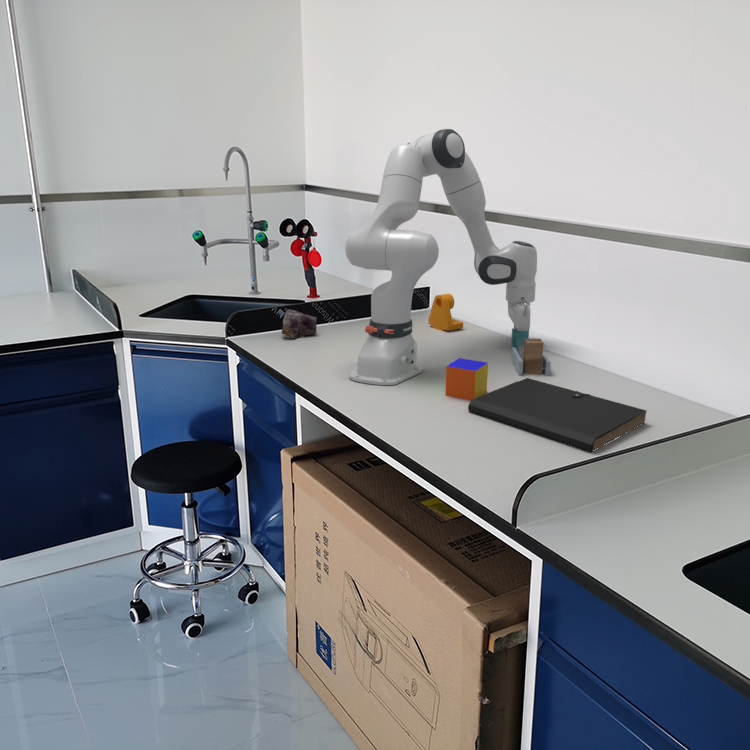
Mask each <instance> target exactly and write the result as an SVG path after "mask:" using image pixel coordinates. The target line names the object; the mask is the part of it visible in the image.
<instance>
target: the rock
mask: <svg viewBox="0 0 750 750" xmlns="http://www.w3.org/2000/svg"><path fill="white" fill-rule="evenodd" d="M281 329H282V330H281V335H284V336H287V337H289V338H291V339H296V338H299V337H305V336H313V335H316V334H317V316H313V315H309V314H306V313H302V312H300V311H297V310H294V309H287V310H286V311H285V312H284V315H283V319H282V328H281Z"/></svg>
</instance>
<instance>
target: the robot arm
mask: <svg viewBox="0 0 750 750" xmlns="http://www.w3.org/2000/svg"><path fill="white" fill-rule="evenodd" d="M382 175H383V176H382V181H381V185H380V186H381V187H380V190H379V191H380V192H379V195H378V200H377V204H376V207H375V209H374V211H373V213H372V214H371V216H370V217H369V218H368V219H367V221H366V222H365V223H363V225H361V226H360V227H359V228H357V229H355V230H354V231H352V232H351V234H349V235H348V238H347V240H346V242H345V247H344V249H345V255H346V259H347V260H348V262H349V263H350V264H351V265H352V266H355V267H358V268H362V269H366V270H375V271H390V272H391V278H390V280H388V281H385V282H383V283H382V284H379V285H378V286H376V287H375V288H374V289H373V290H372V292H371V296H370V299H371V300H370V305H371V307H370V312H371V313H370V315H371V316H370V320H369V323H368V325H367V324H366V326H365V328H364V329H365V330H364V332H365V333H366V334H368V335H367V338H366V340H365V342H364V343H363V345H362V347H361V349H360V352H359V354H358V357H357V365H356V366H355V367H354V369H352V371H351V372H350V374H349V375H348V379H349V380H351V381H355V382H357V383H358V382H359V383H363V384H369V385H378V386H395V385H398V384H399V383H402V382H404V381H405V380H408V379H410V378H412V377H414V376H416V375H418V374H421V373H422V372H423V368H422V367H421V366H420V365H418V346H417V345H418V344H417V342H416V340H415V339H414V337H413V335H412V333H413V319H412V317H411V316H412V301H413V294H414V289H415V287H416V285H417V283H418V281H419V280H420V279H421V278H422V277H423V275H424V274H425V273H427V272H429V271H430V270H431V269H433V267H434V266H435V264H436V263H437V261H438V258H439V253H440V251H439V244H438V241H437V240H436V238H435V237H434V235H432V234H429V233H427V232H423V231H419V230H408V229H407V230H406V229H398V228H399V227H400V226H401V225H402V224H404V223H407V222H408V221H410V220H413V218H415V216H416V214H417V213H418V211H419V208H420V207H419V206H420V200H421V195H422V194H421V193H422V188H423V187H422V186H423V179H424V178H425V177H430V176H433V175H437V177H439V179H440V182H441V185H442V189H443V192H444V195H445V197H446V199H447V202H448V204H449V206H450V208H451V209H452V211H453V213H454V214H455V215H456V217H457V218H458V219H459V220H460V221H461V222H462V224H463V225H464V227H465V228H466V230H467V233H468V236H469V240H470V241H471V242H470V243H471V244H472V248H473V251H474V260H473V267H474V270H475V272H476V274H478V276H479V278H480V279H481V281H482V282H483V283H485V284H487V285H490V286H491V285H492V286H494V285H502V284H506V286H505V287H506V288H505V300H506V301H507V314H508V317H509V319H510V320H511V322H512V323H513V328H517V330H518V331H529V332H530V328H531V303H533V302H535V301H536V300H535V298H536V288H537V287H536V275H537V271H538V254H537V253H538V252H537V249H536V247H535V246H534V245H533V244H531V243H528V242H526V241H522V240H521V241H520V240H514V241H511V242H510V243H509V244H508V245H506V246H504V247H501V248H500V249H499V248H498V247H497V246H496V243H494V240H493V238H492V236H491V233H490V230H489V227H488V224H487V221H486V217H485V211H486V210H485V208H486V204H487V202H486V201H487V200H486V195H485V190H484V186H483V183H482V180H481V178H480V175H479V173H478V171H477V169H476V167H475V165H474V162H473V161H472V160H471V158H470V156H469V154H468V153H467V152H466V148H465V143H464V140H463V138H462V136H461V135H460V134H459V133H458V132H457V131H455V130H454V129H452V128H444V129H439V130H437V131H436V132H432V133H428V134H426V135H422V136H420V137H417V138H416V139H414V140H413V141H411V142H408V143H402V144H398V145H396V146H394V147H393V148H391V151H390V152H389V155H388V157H387V161H386V164H385V167H384V171H383V174H382Z"/></svg>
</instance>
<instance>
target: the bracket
mask: <svg viewBox="0 0 750 750" xmlns="http://www.w3.org/2000/svg"><path fill="white" fill-rule="evenodd" d="M454 307H455V298H454V296H453V294H451V293H444V294H437V295H435V296H434V297H433V301H432V305H431V308H430V313H429V316H428V321H427V322H428V325H429V326H432V328H433V329H435V330H438V331H441V332H446V330H447V331H454V330H459V329H464V322H463V321H461V320H458V319H455V318H453V317H452V312H451V310H452V309H453V308H454Z"/></svg>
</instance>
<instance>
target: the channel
mask: <svg viewBox="0 0 750 750" xmlns="http://www.w3.org/2000/svg"><path fill="white" fill-rule="evenodd" d="M510 358H511V359H510V361H511V363H512V365H513V367H514V369H515V371H516V373H517V375H518V376H523V372H524V371H523V359H522V357H521V355H520V353H519V351H518V350H517V348H515V347H512V348H511V356H510ZM542 371H543V372H542V373H544V376H550V375H551V374H550V373H551V372H550V371H551V360H550V359H549V357H548V355H546V353H545V351H544V350H543V358H542Z"/></svg>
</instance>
